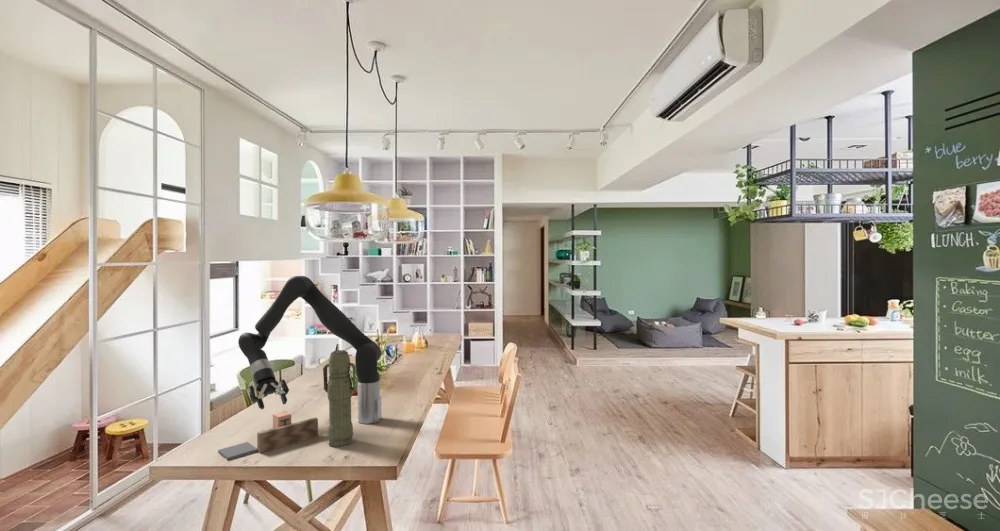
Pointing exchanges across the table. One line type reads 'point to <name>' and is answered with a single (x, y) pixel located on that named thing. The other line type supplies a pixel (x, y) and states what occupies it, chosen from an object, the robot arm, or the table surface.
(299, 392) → the table surface
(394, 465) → the table surface
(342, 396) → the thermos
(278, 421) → the marked block
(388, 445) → the table surface
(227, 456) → the charcoal mat
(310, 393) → the table surface
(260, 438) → the walnut screen
